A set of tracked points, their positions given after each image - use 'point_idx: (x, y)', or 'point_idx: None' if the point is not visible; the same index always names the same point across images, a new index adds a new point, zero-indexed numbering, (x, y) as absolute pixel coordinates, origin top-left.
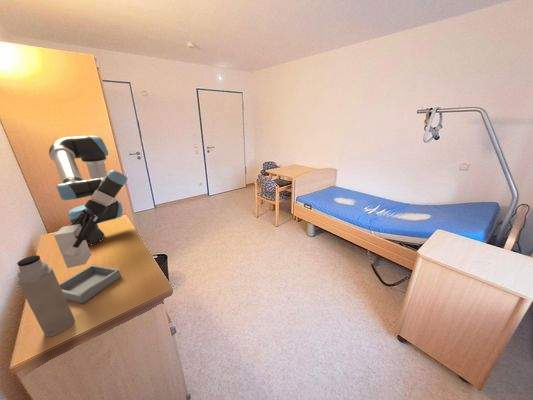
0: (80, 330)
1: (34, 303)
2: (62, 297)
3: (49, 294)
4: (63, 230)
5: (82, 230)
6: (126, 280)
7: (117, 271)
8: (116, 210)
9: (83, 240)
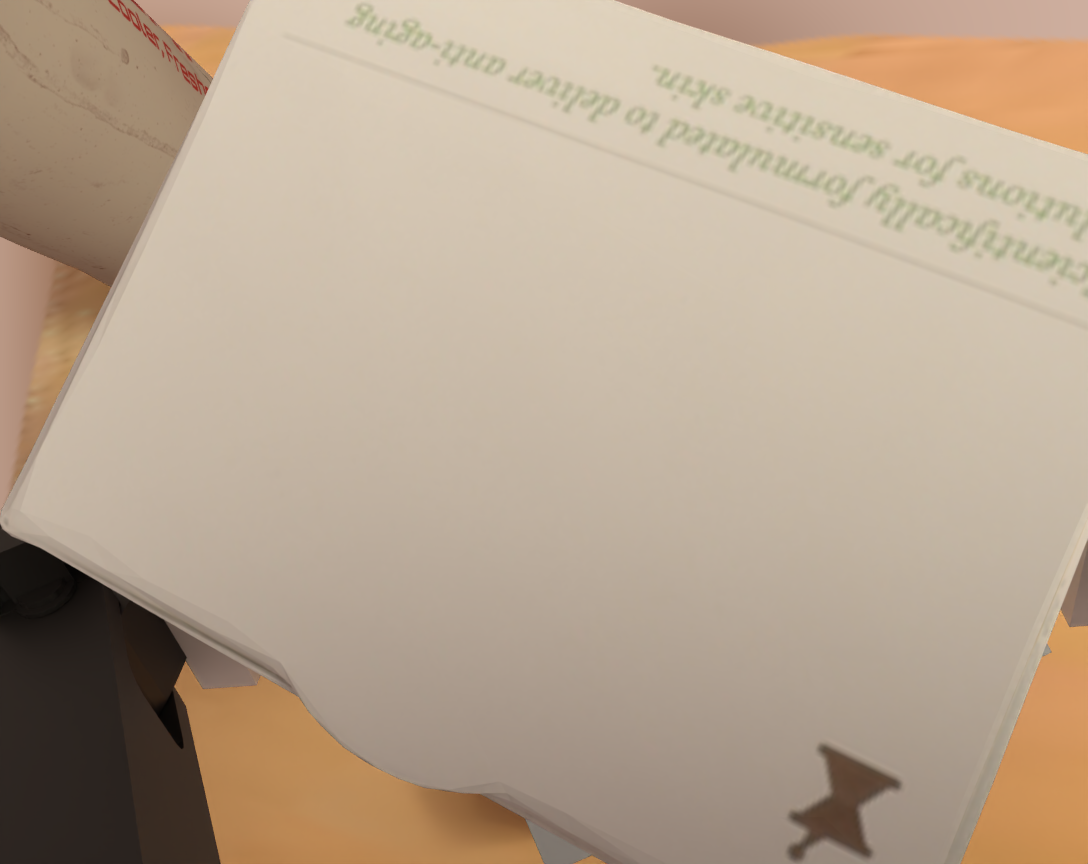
0: (65, 357)
1: None
2: (5, 238)
3: None
4: (479, 215)
5: (2, 838)
6: (443, 850)
7: (539, 842)
8: None
9: (204, 684)
